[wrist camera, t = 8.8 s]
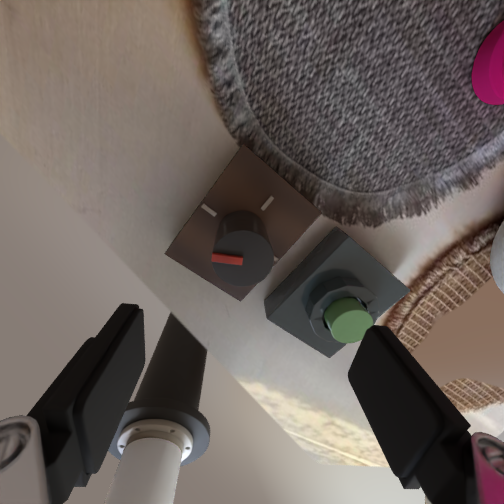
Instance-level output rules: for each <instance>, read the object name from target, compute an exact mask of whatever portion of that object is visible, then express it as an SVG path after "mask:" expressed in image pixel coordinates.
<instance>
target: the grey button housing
mask: <svg viewBox="0 0 504 504" xmlns="http://www.w3.org/2000/svg"><path fill="white" fill-rule="evenodd" d="M409 292H410V289H409V288H407V287H406V286H405V285H404V284H403V283H402V282H401V281H400V280H398V279H397V278H396V277H395V276H394V275H393V274H392V273H390V272H389V271H388V270H387V269H386V268H385V267H384V266H382V265H381V264H380V263H379V262H378V261H377V260H376V259H374V258H373V257H372V256H371V255H370V254H369V253H368V252H366V251H365V250H364V249H363V248H362V247H361V246H360V245H358V244H357V243H356V242H355V241H354V240H353V239H352V238H350V237H349V236H348V235H347V234H346V233H344V232H343V231H342V230H340V229H339V228H338V227H335V228H334V229H333V230H332V231H331V232H330V233H329V234H328V235H327V236H326V237H325V238H324V240H323V241H322V242H321V243H320V244H319V245H318V246H317V247H316V248H315V249H314V250H313V251H312V252H311V253H310V254H309V255H308V256H307V257H306V258H305V259H304V260H303V261H302V262H301V263H300V265H299V266H298V267H297V268H296V269H295V270H294V271H293V272H292V273H291V274H290V275H289V276H288V277H287V278H286V279H285V280H284V281H283V282H282V283H281V284H280V285H279V286H278V287H277V288H276V290H275V291H274V292H273V293H272V294H271V295H270V296H269V297H268V298H267V299H266V300H265V301H264V306H265V312H266V318H267V319H268V320H269V321H271V322H272V323H274V324H276V325H277V326H279V327H280V328H282V329H284V330H285V331H287V332H288V333H290V334H292V335H293V336H295V337H296V338H298V339H300V340H301V341H303V342H304V343H306V344H308V345H309V346H311V347H312V348H314V349H315V350H317V351H319V352H320V353H322V354H323V355H325V356H327V357H328V358H331V357H332V356H333V355H334V354H335V353H337V352H338V351H339V350H340V349H341V348H343V347H344V346H345V345H346V344H347V343H342V342H339V341H337V340H336V339H335V338H334V337H333V336H332V334H331V332H330V330H329V328H328V326H327V324H326V322H325V319H324V313H325V310H326V309H327V307H328V306H329V305H330V304H331V303H332V302H333V301H335V300H337V299H340V298H344V297H351V298H355V299H357V300H358V301H360V302H361V304H362V305H363V306H364V308H365V309H366V310H367V311H368V313H369V314H370V315H371V316H372V319H373V325H374V324H375V322H376V320H377V318H379V317H380V316H381V315H382V314H383V313H385V312H386V311H387V310H388V309H389V308H391V307H392V306H393V305H394V304H395V303H397V302H398V301H399V300H400V299H401V298H403V297H404V296H405V295H406V294H407V293H409Z"/></svg>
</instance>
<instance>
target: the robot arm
mask: <svg viewBox="0 0 504 504" xmlns="http://www.w3.org/2000/svg"><path fill="white" fill-rule="evenodd" d="M144 364H145V340H144V314H143V309H139V306H138V305H137V304H124V303H122V304H121V305H120V306H119V307H118V308H117V310H116V311H115V312H114V314H113V315H112V316H111V318H110V319H109V320H108V321H107V323H106V324H105V325H104V327H103V328H102V330H101V331H100V332H99V333H98V335H97V336H96V337H95V338H93V337H91V338H89V339H88V340H87V341H86V342H85V343H84V344H83V345H82V346H81V348H80V349H79V350H78V351H77V353H76V354H75V355H74V357H73V358H72V359H71V360H70V362H69V363H68V364H67V365H66V367H65V368H64V369H63V370H62V372H61V373H60V374H59V375H58V377H57V378H56V379H55V380H54V382H53V383H52V384H51V385H50V387H49V388H48V389H47V391H46V392H45V393H44V394H43V396H42V397H41V398H40V399H39V401H38V402H37V403H36V404H35V406H34V407H33V408H32V409H31V411H30V412H29V413H28V415H27V416H23V415H20V416H14V417H9V418H6V419H4V420H1V421H0V504H63V503H64V502H65V501H67V500H68V498H69V496H70V494H71V492H72V489H73V488H74V487H86V485H87V483H88V481H89V478H90V476H91V474H95V473H97V472H98V471H99V469H100V467H101V465H102V462H103V460H104V458H105V456H106V453H107V451H108V449H109V447H110V444H111V442H112V440H113V437H114V435H115V433H116V430H117V428H118V426H119V423H120V421H121V419H122V417H123V414H124V412H125V410H126V407H127V405H128V403H129V400H130V398H131V396H132V393H133V391H134V389H135V386H136V384H137V382H138V379H139V377H140V375H141V372H142V370H143V368H144ZM348 379H349V382H350V384H351V386H352V388H353V390H354V392H355V394H356V396H357V398H358V401H359V403H360V405H361V407H362V409H363V411H364V413H365V415H366V417H367V419H368V422H369V424H370V426H371V428H372V430H373V432H374V434H375V436H376V438H377V440H378V443H379V445H380V447H381V449H382V451H383V453H384V455H385V457H386V459H387V461H388V464H389V466H390V468H391V470H392V471H393V473H394V474H395V476H397V477H398V478H399V480H400V482H401V484H402V486H403V488H404V489H419V488H420V487H421V488H422V490H423V491H424V493H425V504H504V442H502V441H501V440H499V439H498V438H496V437H494V436H492V435H489V434H486V433H483V432H475V433H474V434H473V435H472V436H471V434H470V433H469V432H468V431H467V430H468V428H469V427H470V426H471V425H470V424H469V423H468V422H467V420H466V419H465V418H464V417H463V416H462V414H461V413H460V412H459V411H458V410H457V408H456V407H455V406H454V405H453V404H452V403H451V401H450V400H449V399H448V398H447V397H446V395H445V394H444V393H443V392H442V391H441V389H440V388H439V387H438V386H437V385H436V384H435V382H434V381H433V380H432V379H431V377H429V375H428V374H427V373H426V372H425V370H424V369H423V368H422V367H421V366H420V364H419V363H418V362H417V361H416V360H415V358H414V357H413V356H412V355H411V354H410V352H409V351H408V350H407V349H406V348H405V346H404V345H403V344H402V343H401V342H400V341H399V339H398V338H397V337H396V336H395V335H394V333H393V332H392V331H391V330H390V329H389V328H388V327H387V326H379V325H372V326H371V327H370V328H368V329H367V330H366V332H365V335H364V337H363V339H362V341H361V344H360V346H359V348H358V351H357V353H356V355H355V358H354V360H353V362H352V365H351V367H350V369H349V372H348ZM192 446H193V438H192V435H191V434H190V432H189V431H188V430H187V429H186V428H185V427H183V426H182V425H180V424H178V423H176V422H173V421H169V420H164V419H144V420H140V421H137V422H134V423H132V424H130V425H128V426H127V427H126V428H124V429H123V431H122V432H121V434H120V436H119V439H118V442H117V447H118V450H119V452H120V453H121V455H122V457H121V460H120V462H119V465H118V468H117V470H116V473H115V476H114V479H113V481H112V484H111V486H110V489H109V492H108V494H107V497H106V500H105V502H104V504H173V501H174V495H175V491H176V485H177V480H178V474H179V469H180V463H181V461H183V460H184V459H186V458H187V457H188V456H189V455H190V453H191V451H192Z"/></svg>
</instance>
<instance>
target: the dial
mask: <svg viewBox="0 0 504 504" xmlns="http://www.w3.org/2000/svg"><path fill="white" fill-rule="evenodd" d="M211 261H212V266H213V269H214V271H215V272H216V274H217V275H218V276H219V277H220V278H221V279H222V280H223V281H224V282H226V283H228V284H230V285H234V286H239V287H246V286H251V285H255V284H257V283H259V282H261V281H262V280H263V279H264V278H266V277H267V275H268V274H269V273H270V271H271V269H272V267H273V264H274V252H273V249H272V246H271V243H270V240H269V237H268V234H267V231H266V228H265V226H264V223H263V222H262V220H261V219H260V218H259V217H258V216H257V215H255V214H254V213H252V212H249V211H243V210H242V211H235V212H232V213H230V214H228V215H227V216H226V217H224V218H223V220H222V221H221V223H220V225H219V227H218V231H217V235H216V239H215V243H214V247H213V251H212V257H211Z"/></svg>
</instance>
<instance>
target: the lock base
mask: <svg viewBox="0 0 504 504" xmlns="http://www.w3.org/2000/svg"><path fill="white" fill-rule="evenodd" d="M242 210H243V211H249V212H252V213H254V214H255V215H257V216H258V217H259V218H260V219H261V220H262V222H263V223H264V226H265V228H266V231H267V234H268V237H269V240H270V243H271V246H272V249H273V252H274V264H273V266H274V265H275V264H276V263H277V262H278V260H279V259H280V258H281V257H282V256H283V255H284V254H285V253H286V252H287V251H288V250H289V248H290V247H291V246H292V245H293V244H294V243H295V242H296V241H297V240H298V239H299V238H300V236H301V235H302V234H303V233H304V232H305V231H306V230H307V229H308V228H309V227H310V226H311V225H312V223H313V222H314V221H315V220H316V219H317V218H318V217H319V216H320V215H321V214H322V212H321V211H320V210H318V209H317V208H316V207H315V206H314V205H313V204H312V203H310V202H309V201H308V200H307V199H306V198H305V197H304V196H302V195H301V194H300V193H299V192H298V191H297V190H296V189H294V188H293V187H292V186H291V185H290V184H289V183H288V182H286V181H285V180H284V179H283V178H282V177H281V176H280V175H279V174H277V173H276V172H275V171H274V170H273V169H272V168H271V167H269V166H268V165H267V164H266V163H265V162H264V161H263V160H261V159H260V158H259V157H258V156H257V155H256V154H255V153H253V152H252V151H251V150H250V149H249V148H248V147H247V146H245V145H244V144H243V145H242V146H241V148H240V149H239V151H238V152H237V153H236V155H235V156H234V157H233V159H232V160H231V162H230V163H229V164H228V166H227V167H226V169H225V170H224V171H223V173H222V174H221V176H220V177H219V178H218V180H217V181H216V182H215V184H214V185H213V187H212V188H211V189H210V191H209V192H208V194H207V195H206V196H205V198H204V199H203V201H202V202H201V203H200V205H199V206H198V208H197V209H196V210H195V212H194V213H193V214H192V216H191V217H190V219H189V220H188V221H187V223H186V224H185V226H184V227H183V228H182V230H181V231H180V233H179V234H178V235H177V237H176V238H175V239H174V241H173V242H172V244H171V245H170V247H169V248H168V249H167V251H166V252H165V255H167V256H169V257H170V258H172V259H173V260H175V261H177V262H178V263H180V264H181V265H183V266H185V267H186V268H188V269H189V270H191V271H193V272H194V273H196V274H197V275H199V276H200V277H202V278H204V279H205V280H207V281H208V282H210V283H212V284H213V285H215V286H216V287H218V288H220V289H221V290H223V291H224V292H226V293H228V294H229V295H231V296H232V297H234V298H236V299H237V300H239V301H240V302H241V301H242V300H243V299H244V297H245V296H246V295H247V294H248V293H249V292H250V291H251V290H252V289H253V288H254V287H255V285H256V284H255V285H251V286H246V287H239V286H234V285H230V284H228V283H226V282H224V281H223V280H222V279H221V278H220V277H219V276H218V275H217V274H216V272H215V271H214V269H213V266H212V261H211V257H212V251H213V247H214V243H215V239H216V235H217V231H218V227H219V225H220V223H221V221H222V220H223V218H224V217H226V216H227V215H228V214H230V213H232V212H235V211H242Z"/></svg>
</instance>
